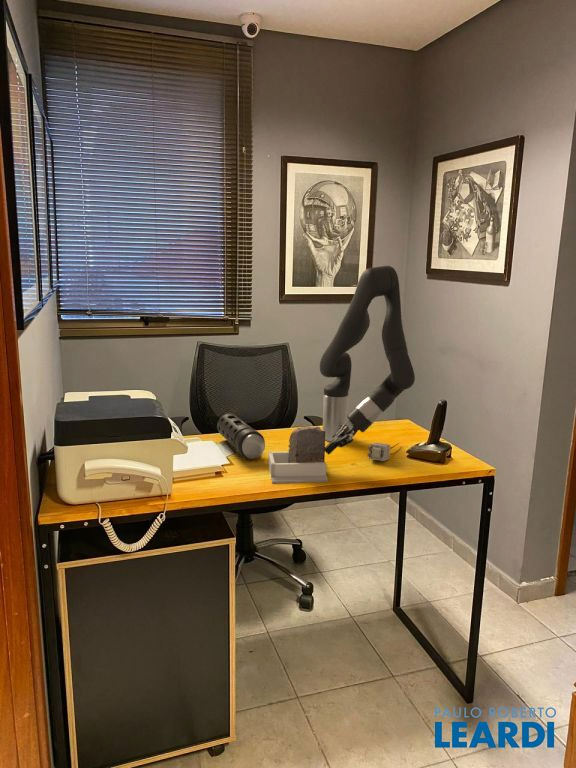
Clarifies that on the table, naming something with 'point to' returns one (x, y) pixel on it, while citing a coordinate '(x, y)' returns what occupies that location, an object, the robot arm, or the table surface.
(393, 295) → the robot arm
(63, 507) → the table surface
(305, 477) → the open rectangular box
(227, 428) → the muzzle brake
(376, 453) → the electrical component
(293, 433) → the geological specimen
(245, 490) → the table surface
